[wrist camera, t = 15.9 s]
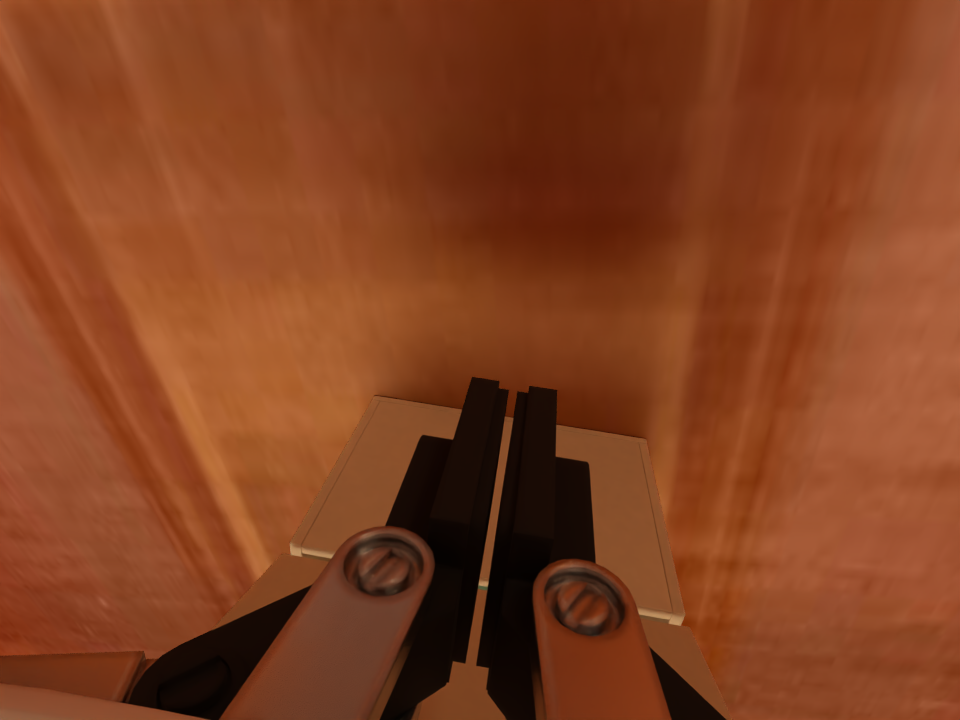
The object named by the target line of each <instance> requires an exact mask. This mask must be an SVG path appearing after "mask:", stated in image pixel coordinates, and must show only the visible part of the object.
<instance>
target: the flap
mask: <svg viewBox="0 0 960 720" xmlns="http://www.w3.org/2000/svg"><path fill="white" fill-rule="evenodd" d="M327 564H328V562H327V561H322V560H316V559H311V558H305V557H300V556H294V555H289V554H281V555H280V556H279V557H278V559H277V560H276V561H275V562H274V563H273V564H272V565H271V566H270V567H269V568H268V569H267V570H266V572H265V573H264V574H263V575H262V576H261V577H260V578H259V579H258V580H257V581H256V582H255V583H254V585H253V586H252V587H251V588H250V589H249V590H248V591H247V592H246V593H245V594H244V595H243V596H242V598H241V599H240V600H239V601H238V602H237V603H236V604H235V605H234V606H233V607H232V608H231V609H230V611H229V612H228V613H227V614H226V615H225V616H224V617H223V618H222V619H221V620H220V621H219V622H218V624H217V625H216V626H215V627H214V628H213V629H212V630H214V629H216V628H218V627H220V626H222V625H225V624H227V623H229V622H231V621H233V620H235V619H238V618H240V617H242V616H244V615H246V614H249V613H251V612H253V611H255V610H257V609H260V608H262V607H264V606H266V605H268V604H270V603H273V602H275V601H277V600H279V599H281V598H284V597H286V596H288V595H290V594H292V593H295V592H297V591H299V590H301V589H303V588H305V587H308V586H310V585H312V584H314V582H315V581H316V580H317V578H318V577H319V575H320V574H321V572H322V571H323V569H324V568H325V567H326V565H327ZM486 595H487V590H481V589H478V591H477V597H476V603H475V609H474V615H473V621H472V627H471V633H470V639H469V645H468V651H467V657H466V663H465V664H464V663H459V662H454V661H453V664H452V669H451V674H450V680H449V683H446V686H444V687H443V688H441V689H440V690H438V691H437V692H435V693H434V694H432V695H431V696H429V697H428V698H426V699H425V700H423V701H422V706H421V710H420V715H419V718H418V720H505V716H504V715H503V714H502V712H501V711H500V710H499V708H498V707H497V706H496V704H495V703H494V702H493V700H492V699H491V698H490V696H489V695H488V694H487V692H488V690H486V685H487V677H488V669H489V668H485V667H480V666H476V662H477V656H478V649H479V642H480V635H481V629H482V622H483V615H484V608H485V602H486ZM640 619H641V618H640ZM641 622H642V625H643V629H644V632H645V635H646V638H647V642H648V645H649V646H650V647H651V648H652V649H653V650H654V651H655V652H656V653H657V654H658V655H659V656H660V657H661V658H662V659H663V660H664V661H665V662H666V663H667V664H669V665H670V666H671V667H672V668H673V669H674V670H675V671H676V672H677V673H678V674H679V675H680V676H681V677H682V678H683V679H684V680H685V681H686V682H687V683H689V684H690V685H691V686H692V687H693V688H694V689H695V690H696V691H697V692H698V693H699V694H700V695H701V696H702V697H703V698H704V699H705V700H706V701H707V702H708V703H710V704H711V705H712V706H713V707H714V708H715V709H716V710H717V711H718V712H719V713H720V714H721V715H722V716H723V717H724V718H725V719H726V720H733V719H732V717H731V715H730V712H729V710H728V708H727V706H726V704H725V702H724V700H723V698H722V695H721V693H720V691H719V689H718V687H717V685H716V683H715V680H714V678H713V676H712V674H711V672H710V670H709V668H708V665H707V663H706V661H705V659H704V657H703V655H702V653H701V651H700V648H699V646H698V644H697V642H696V640H695V638H694V636H693V633H692V631H691V629H690V628H689V627H685V626H679V625H674V624H668V623H663V622H657V621H652V620H646V619H641Z"/></svg>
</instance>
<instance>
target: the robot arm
mask: <svg viewBox="0 0 960 720" xmlns="http://www.w3.org/2000/svg"><path fill="white" fill-rule="evenodd" d="M508 393H509V390H506V389H500V388H499V381H495V380H489V379H483V378H476V377H472V379H471V382H470V385H469V389H468V392H467V395H466V398H465V402H464V405H463V408H462V412H461V415H460V418H459V422H458V425H457V428H456V431H455V435H454V438H453V440H452V439H446V438H440V437H434V436H428V435H422V436H421V437H420V439H419V441H418V444H417V446H416V449H415V451H414V454H413V456H412V459H411V461H410V464H409V466H408V469H407V472H406V474H405V477H404V479H403V482H402V484H401V487H400V489H399V492H398V494H397V497H396V499H395V502H394V504H393V507H392V509H391V512H390V514H389V517H388V519H387V522H386V524H385V526H381V527H373V528H369V529H366V530H362V531H360V532H358V533H356V534H355V535H353V536H351V537H349V538H348V539H347V540H346V541H345V542H344V543H343V544H342V545H341V546H340V547H339V548H338V549H337V551H336V552H335V554H334V555H333V557H332V558H331V559H330V561H329V562H328V564H327V565H326V567H325V568H324V569H323V571H322V572H321V574H320V575H319V577H318V578H317V580H316V581H315V582H314V584H312V585H310V586H308V587H305V588H303V589H301V590H299V591H297V592H295V593H292V594H290V595H288V596H286V597H284V598H281V599H279V600H277V601H275V602H273V603H270V604H268V605H266V606H264V607H262V608H260V609H257V610H255V611H253V612H251V613H249V614H246V615H244V616H242V617H240V618H238V619H235V620H233V621H231V622H229V623H227V624H225V625H222V626H220V627H218V628H216V629H214V630H211V631H209V632H207V633H205V634H203V635H200V636H198V637H196V638H194V639H192V640H190V641H187V642H185V643H183V644H181V645H179V646H177V647H176V648H174V649H172V650H171V651H169V652H167V653H166V654H164V655H162V656H161V657H160V658H159V659H146V658H145V654H144V651H129V652H100V653H70V654H40V655H11V656H0V720H418V718H419V715H420V710H421V706H422V701H423V700H425V699H426V698H428V697H429V696H431V695H432V694H434V693H435V692H437V691H438V690H440V689H441V688H443V687H444V686H446V683H449V680H450V674H451V669H452V664H453V661H454V662H459V663H464V664H465V663H466V657H467V651H468V645H469V639H470V633H471V627H472V621H473V615H474V609H475V603H476V597H477V591H478V585H479V579H480V573H481V567H482V561H483V555H484V549H485V543H486V537H487V531H488V525H489V519H490V513H491V507H492V501H493V494H494V487H495V481H496V474H497V467H498V460H499V454H500V447H501V440H502V433H503V427H504V420H505V413H506V406H507V400H508ZM556 418H557V390H553V389H547V388H540V387H534V386H529V390H528V393H525V392H519V391H518V392H517V398H516V405H515V411H514V418H513V424H512V430H511V437H510V443H509V449H508V456H507V462H506V469H505V475H504V481H503V488H502V494H501V501H500V507H499V514H498V520H497V527H496V534H495V541H494V547H493V554H492V561H491V568H490V575H489V581H488V588H487V595H486V602H485V608H484V615H483V622H482V629H481V635H480V642H479V649H478V656H477V662H476V666H480V667H485V668H489V669H488V677H487V685H486V690H488V692H487V694H488V695H489V696H490V698H491V699H492V700H493V702H494V703H495V704H496V706H497V707H498V708H499V710H500V711H501V712H502V714H503V715H504V716H505V720H726V719H725V718H724V717H723V716H722V715H721V714H720V713H719V712H718V711H717V710H716V709H715V708H714V707H713V706H712V705H711V704H710V703H708V702H707V701H706V700H705V699H704V698H703V697H702V696H701V695H700V694H699V693H698V692H697V691H696V690H695V689H694V688H693V687H692V686H691V685H690V684H689V683H687V682H686V681H685V680H684V679H683V678H682V677H681V676H680V675H679V674H678V673H677V672H676V671H675V670H674V669H673V668H672V667H671V666H670V665H669V664H667V663H666V662H665V661H664V660H663V659H662V658H661V657H660V656H659V655H658V654H657V653H656V652H655V651H654V650H653V649H652V648H651V647H650V646H649V645H648V642H647V638H646V635H645V632H644V629H643V625H642V622H641V619H640V616H639V612H638V609H637V606H636V603H635V601H634V599H633V596H632V594H631V592H630V590H629V589H628V587H627V586H626V585H625V584H624V583H623V582H622V581H621V579H620V578H619V577H618V576H616V575H615V574H613V573H612V572H611V571H609V570H608V569H606V568H605V567H602V566H600V565H598V564H596V556H595V542H594V527H593V512H592V497H591V482H590V468H589V463H588V462H586V461H580V460H574V459H568V458H562V457H556Z"/></svg>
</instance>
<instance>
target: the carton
mask: <svg viewBox="0 0 960 720" xmlns="http://www.w3.org/2000/svg"><path fill="white" fill-rule="evenodd" d="M461 412H462V409H456V408H449V407H443V406H437V405H431V404H424V403H418V402H412V401H406V400H400V399H393V398H387V397H381V396H374V398H373V399H372V401H371V403H370V404H369V406H368V408H367V410H366V411H365V413H364V415H363V417H362V418H361V420H360V422H359V424H358V425H357V427H356V429H355V431H354V432H353V434H352V436H351V438H350V439H349V441H348V443H347V444H346V446H345V448H344V450H343V451H342V453H341V455H340V457H339V458H338V460H337V462H336V464H335V465H334V467H333V469H332V471H331V472H330V474H329V476H328V478H327V479H326V481H325V483H324V484H323V486H322V488H321V490H320V491H319V493H318V495H317V497H316V498H315V500H314V502H313V504H312V505H311V507H310V509H309V511H308V512H307V514H306V516H305V518H304V519H303V521H302V523H301V525H300V526H299V528H298V530H297V531H296V533H295V535H294V537H293V538H292V540H291V542H290V551H291V555H294V556H300V557H305V558H311V559H316V560H322V561H327V562H329V561H330V559H331V558H332V557H333V555H334V554H335V552H336V551H337V549H338V548H339V547H340V546H341V545H342V544H343V543H344V542H345V541H346V540H347V539H348V538H349V537H351V536H353V535H355V534H356V533H358V532H360V531H362V530H366V529H369V528H373V527H381V526H385V524H386V522H387V519H388V517H389V514H390V512H391V509H392V507H393V504H394V502H395V499H396V497H397V494H398V492H399V489H400V487H401V484H402V482H403V479H404V477H405V474H406V472H407V469H408V466H409V464H410V461H411V459H412V456H413V454H414V451H415V449H416V446H417V444H418V441H419V439H420V437H421V436H422V435H428V436H434V437H440V438H446V439H452V440H453V438H454V435H455V431H456V428H457V425H458V422H459V418H460V415H461ZM512 424H513V418H512V417H506V416H505V420H504V427H503V433H502V440H501V447H500V454H499V460H498V467H497V474H496V481H495V487H494V494H493V501H492V507H491V513H490V519H489V525H488V531H487V537H486V543H485V549H484V555H483V561H482V567H481V573H480V579H479V585H480V586H485V587H488V581H489V575H490V568H491V561H492V554H493V547H494V541H495V534H496V527H497V520H498V514H499V507H500V501H501V494H502V488H503V481H504V475H505V469H506V462H507V456H508V449H509V443H510V437H511V430H512ZM556 457H562V458H568V459H574V460H580V461H586V462H588V463H589V468H590V482H591V497H592V512H593V527H594V542H595V556H596V564H598V565H600V566H602V567H605V568H606V569H608V570H609V571H611V572H612V573H613V574H615V575H616V576H618V577H619V578H620V579H621V581H622V582H623V583H624V584H625V585H626V586H627V587H628V589H629V590H630V592H631V594H632V596H633V599H634V601H635V603H636V606H637V609H638V612H639V616H640V618H641V619H646V620H652V621H657V622H663V623H668V624H674V625H679V626H681V623H682V621H683V619H684V616H685V611H684V606H683V602H682V598H681V593H680V589H679V584H678V580H677V575H676V571H675V566H674V562H673V557H672V553H671V548H670V544H669V539H668V535H667V530H666V526H665V521H664V517H663V512H662V508H661V504H660V499H659V495H658V490H657V486H656V481H655V477H654V472H653V468H652V463H651V459H650V454H649V450H648V445H647V441H646V439H643V438H637V437H630V436H624V435H618V434H612V433H605V432H599V431H593V430H587V429H580V428H574V427H568V426H562V425H556Z"/></svg>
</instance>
